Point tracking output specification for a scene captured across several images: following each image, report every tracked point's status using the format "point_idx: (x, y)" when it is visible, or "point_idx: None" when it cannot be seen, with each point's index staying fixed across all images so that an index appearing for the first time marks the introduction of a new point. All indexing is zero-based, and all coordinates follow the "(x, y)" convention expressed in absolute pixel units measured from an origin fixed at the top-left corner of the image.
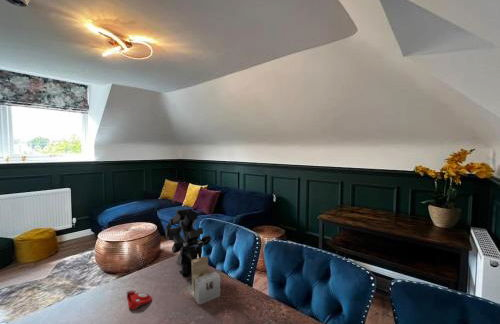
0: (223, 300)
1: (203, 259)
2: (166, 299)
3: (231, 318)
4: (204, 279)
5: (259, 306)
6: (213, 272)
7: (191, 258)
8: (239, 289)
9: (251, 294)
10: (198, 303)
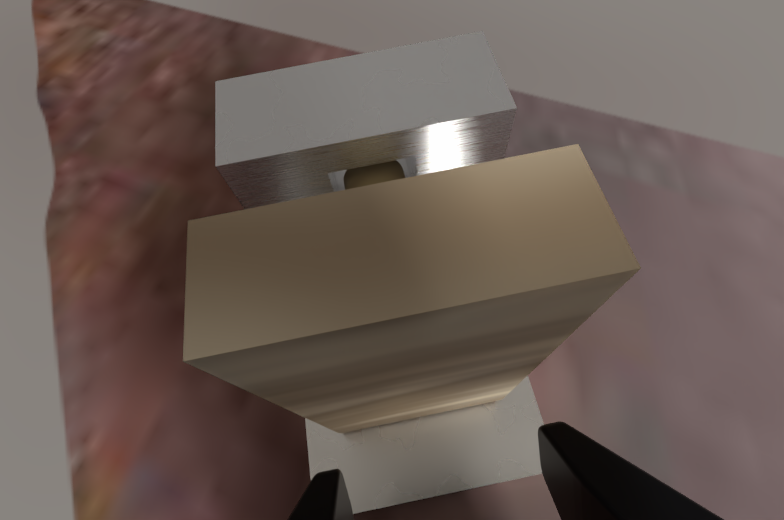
0: None
1: (312, 198)
2: (742, 343)
3: (310, 45)
4: (406, 63)
5: (132, 73)
6: (255, 155)
7: (637, 485)
8: (118, 246)
9: (90, 169)
10: None
